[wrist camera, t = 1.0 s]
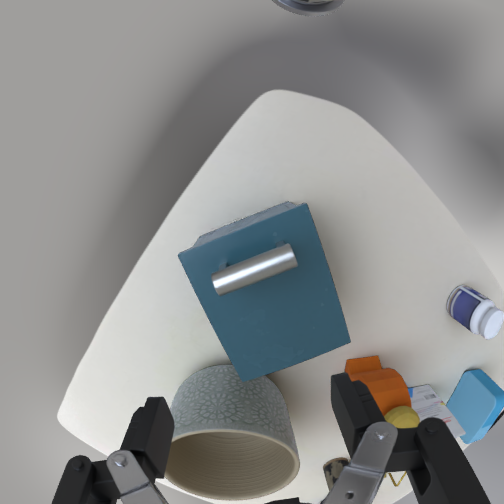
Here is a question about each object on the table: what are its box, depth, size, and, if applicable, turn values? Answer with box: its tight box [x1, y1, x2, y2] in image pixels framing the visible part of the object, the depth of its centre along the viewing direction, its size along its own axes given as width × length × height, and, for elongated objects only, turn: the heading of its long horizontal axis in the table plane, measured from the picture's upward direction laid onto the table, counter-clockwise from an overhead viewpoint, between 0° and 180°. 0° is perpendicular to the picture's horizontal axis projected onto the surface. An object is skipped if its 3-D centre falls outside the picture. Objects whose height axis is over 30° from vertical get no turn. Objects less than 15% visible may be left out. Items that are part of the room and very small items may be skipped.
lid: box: [178, 203, 351, 382], centre depth 24 cm, size 14×12×5 cm
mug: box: [323, 458, 349, 491], centre depth 43 cm, size 8×6×12 cm
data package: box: [446, 369, 504, 444], centre depth 40 cm, size 12×4×12 cm, turn 172°
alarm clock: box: [345, 356, 420, 487], centre depth 33 cm, size 13×6×20 cm, turn 1°
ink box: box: [408, 385, 466, 438], centre depth 38 cm, size 8×5×15 cm, turn 87°
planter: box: [164, 365, 300, 500], centre depth 35 cm, size 17×17×15 cm
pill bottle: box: [447, 285, 504, 339], centre depth 36 cm, size 6×6×10 cm
